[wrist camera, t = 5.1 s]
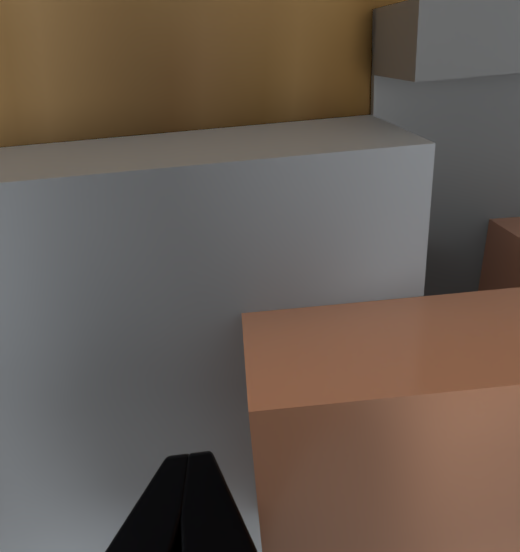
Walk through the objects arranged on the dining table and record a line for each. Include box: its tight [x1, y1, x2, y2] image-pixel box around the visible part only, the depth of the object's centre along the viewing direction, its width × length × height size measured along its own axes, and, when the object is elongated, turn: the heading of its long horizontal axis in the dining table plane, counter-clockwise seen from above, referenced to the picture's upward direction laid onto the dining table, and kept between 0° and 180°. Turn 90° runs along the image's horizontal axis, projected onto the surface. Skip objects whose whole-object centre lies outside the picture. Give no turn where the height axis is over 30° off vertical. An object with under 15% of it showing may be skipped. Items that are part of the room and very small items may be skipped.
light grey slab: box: [0, 115, 435, 552], centre depth 11 cm, size 10×12×4 cm
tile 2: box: [241, 287, 520, 552], centre depth 8 cm, size 5×5×2 cm
